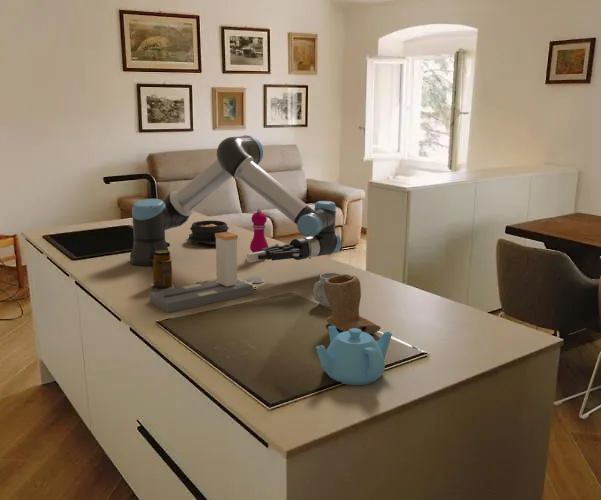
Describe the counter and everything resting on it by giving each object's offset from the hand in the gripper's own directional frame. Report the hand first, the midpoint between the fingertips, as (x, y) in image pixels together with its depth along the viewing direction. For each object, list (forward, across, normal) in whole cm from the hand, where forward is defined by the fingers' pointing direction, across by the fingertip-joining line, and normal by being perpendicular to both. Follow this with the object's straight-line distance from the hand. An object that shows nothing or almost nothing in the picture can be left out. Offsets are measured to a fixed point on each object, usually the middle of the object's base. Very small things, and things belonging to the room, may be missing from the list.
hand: (248, 258), depth 196 cm
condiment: (+22, +18, -10) cm, 30 cm away
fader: (+8, 0, -7) cm, 11 cm away
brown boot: (-1, -47, -11) cm, 48 cm away
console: (+17, 0, -10) cm, 20 cm away
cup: (-10, -28, -11) cm, 31 cm away
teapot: (+17, -68, -11) cm, 71 cm away
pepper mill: (-26, +31, -10) cm, 42 cm away
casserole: (-25, +67, -10) cm, 72 cm away
